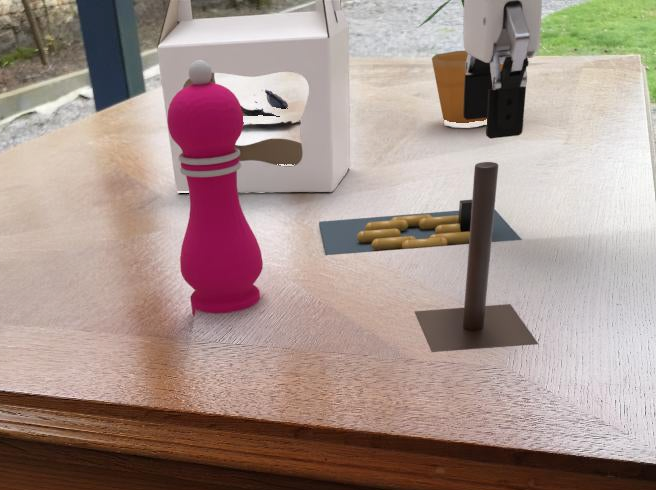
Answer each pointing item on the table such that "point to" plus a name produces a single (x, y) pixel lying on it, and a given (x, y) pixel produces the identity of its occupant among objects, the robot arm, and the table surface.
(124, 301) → the table surface
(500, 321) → the peg stand
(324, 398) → the table surface
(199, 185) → the pepper mill
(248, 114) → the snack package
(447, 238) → the yellow rounded bars
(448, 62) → the potted plant
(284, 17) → the gable box
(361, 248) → the mat
